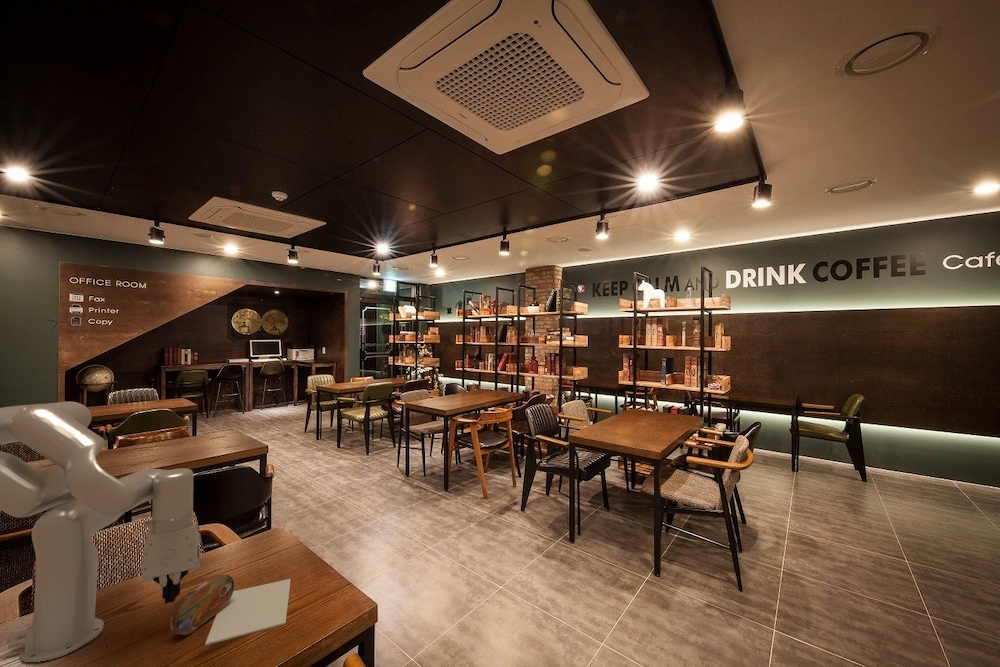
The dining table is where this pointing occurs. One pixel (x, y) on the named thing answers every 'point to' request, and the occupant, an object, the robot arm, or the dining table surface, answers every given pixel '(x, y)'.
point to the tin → (201, 604)
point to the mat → (251, 611)
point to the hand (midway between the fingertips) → (171, 599)
